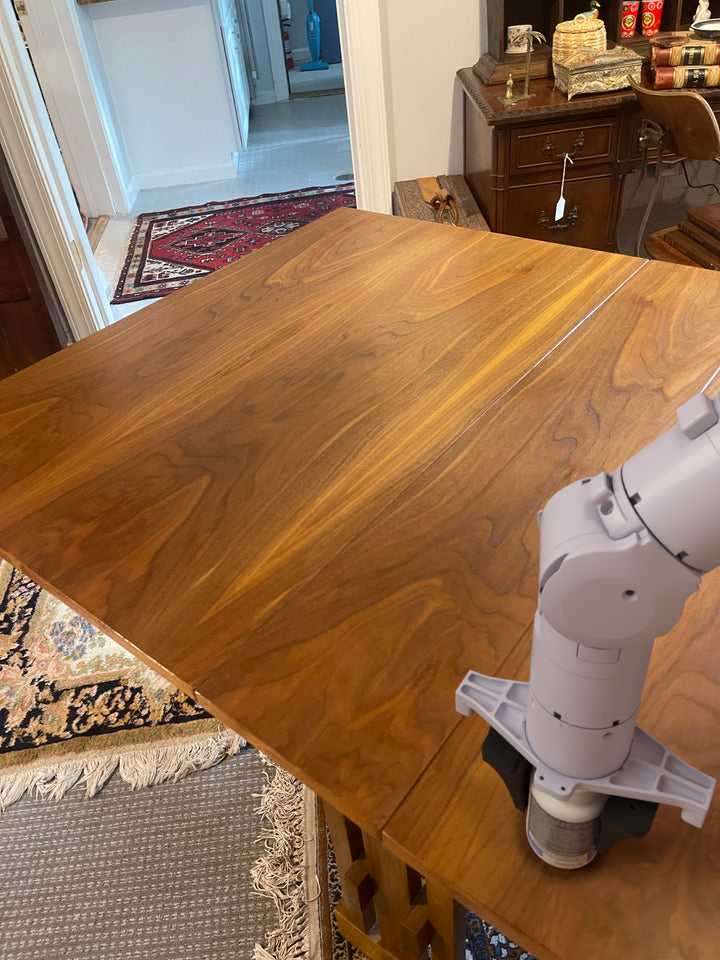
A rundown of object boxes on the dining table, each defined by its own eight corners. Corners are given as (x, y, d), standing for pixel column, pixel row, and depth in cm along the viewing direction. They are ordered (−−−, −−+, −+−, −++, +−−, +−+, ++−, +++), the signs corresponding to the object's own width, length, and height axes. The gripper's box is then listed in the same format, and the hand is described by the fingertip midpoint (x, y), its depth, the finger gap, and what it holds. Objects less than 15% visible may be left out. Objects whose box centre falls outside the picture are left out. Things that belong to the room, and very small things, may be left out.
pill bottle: (607, 870, 46) (625, 798, 41) (531, 871, 46) (539, 800, 41) (590, 798, 50) (604, 724, 45) (520, 800, 50) (526, 727, 45)
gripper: (428, 680, 40) (434, 812, 48) (710, 813, 33) (662, 942, 41) (485, 598, 44) (482, 731, 53) (745, 699, 37) (695, 835, 45)
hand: (564, 817), depth 47 cm, fingers closed on pill bottle, 5 cm apart
